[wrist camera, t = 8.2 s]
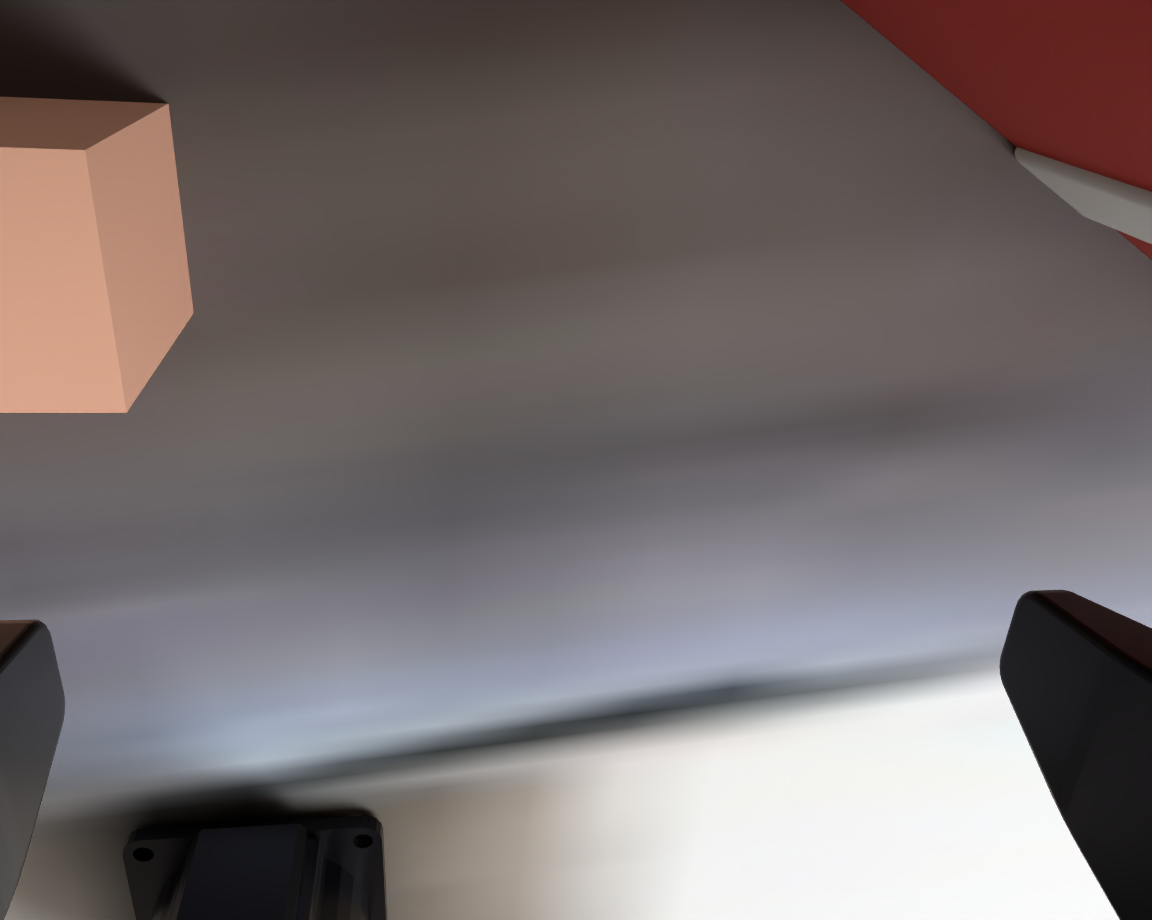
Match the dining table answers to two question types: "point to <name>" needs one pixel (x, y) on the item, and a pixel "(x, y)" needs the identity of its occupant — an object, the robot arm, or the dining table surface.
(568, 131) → the dining table surface
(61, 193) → the terracotta block
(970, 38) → the striped red arch
